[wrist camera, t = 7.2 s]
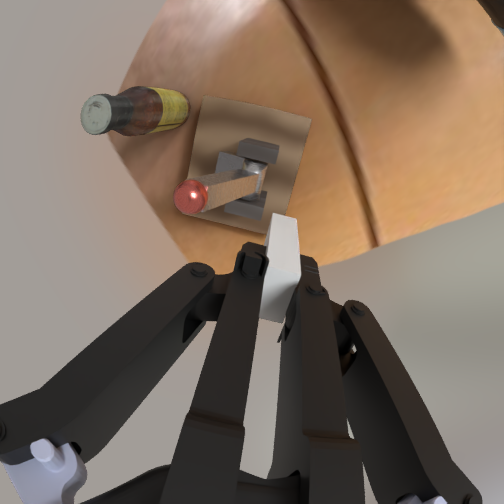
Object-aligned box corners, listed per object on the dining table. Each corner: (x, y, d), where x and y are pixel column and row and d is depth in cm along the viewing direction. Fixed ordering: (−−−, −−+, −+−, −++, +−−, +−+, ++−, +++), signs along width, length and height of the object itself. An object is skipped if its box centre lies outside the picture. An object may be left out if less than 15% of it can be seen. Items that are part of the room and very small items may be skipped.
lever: (227, 149, 35) (134, 157, 21) (275, 163, 33) (199, 177, 19) (220, 180, 37) (130, 206, 23) (267, 196, 35) (190, 232, 21)
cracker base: (209, 97, 37) (185, 89, 27) (309, 119, 37) (320, 117, 27) (188, 206, 45) (162, 233, 35) (278, 229, 45) (277, 263, 35)
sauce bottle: (175, 83, 36) (101, 64, 18) (200, 110, 38) (138, 105, 20) (146, 112, 38) (63, 116, 21) (169, 138, 40) (95, 156, 22)
